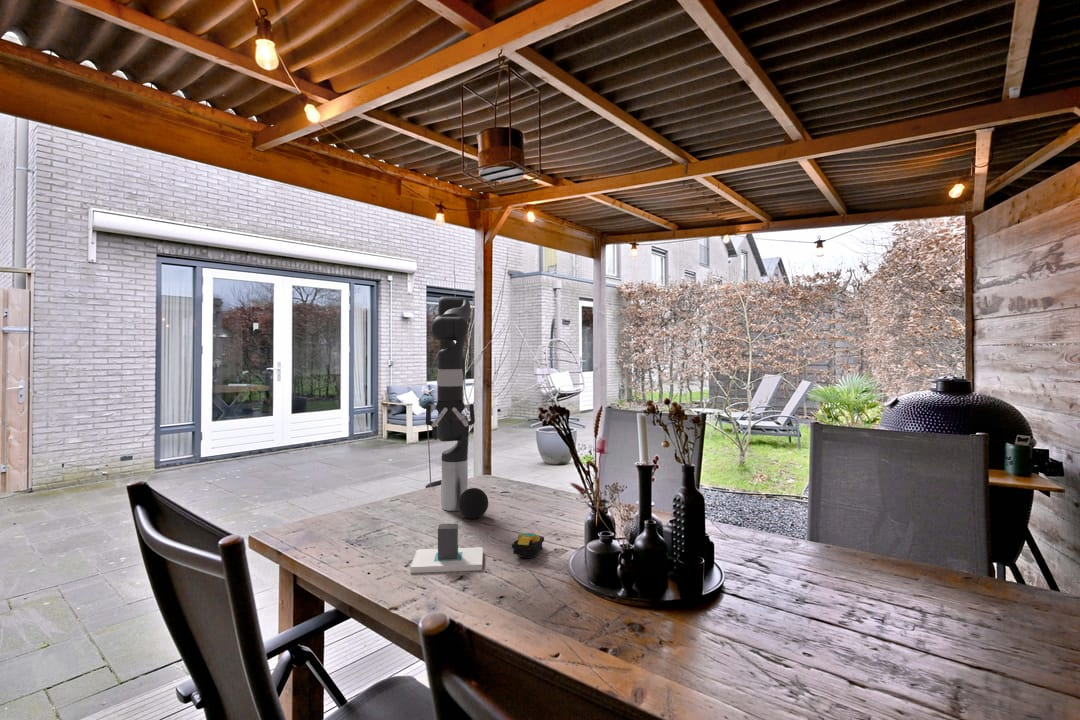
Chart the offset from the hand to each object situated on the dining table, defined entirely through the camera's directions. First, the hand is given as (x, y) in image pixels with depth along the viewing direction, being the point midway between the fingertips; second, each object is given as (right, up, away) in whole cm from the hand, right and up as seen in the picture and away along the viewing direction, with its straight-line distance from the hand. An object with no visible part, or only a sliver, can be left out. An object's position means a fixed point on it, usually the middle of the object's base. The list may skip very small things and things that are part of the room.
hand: (450, 439), depth 156 cm
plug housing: (+2, -29, -16) cm, 33 cm away
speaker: (+4, -30, +22) cm, 37 cm away
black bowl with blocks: (+24, -31, -10) cm, 40 cm away
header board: (+2, -30, -16) cm, 34 cm away
